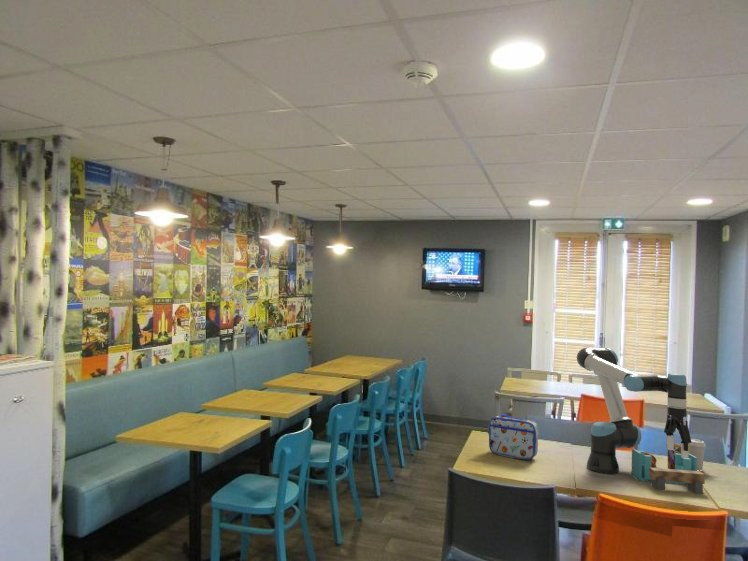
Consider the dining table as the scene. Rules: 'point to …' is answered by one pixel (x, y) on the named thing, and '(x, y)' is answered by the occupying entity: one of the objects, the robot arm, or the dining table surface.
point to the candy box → (672, 455)
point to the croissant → (652, 459)
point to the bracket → (644, 463)
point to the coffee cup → (697, 451)
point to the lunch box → (513, 437)
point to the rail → (677, 475)
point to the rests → (694, 487)
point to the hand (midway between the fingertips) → (677, 453)
